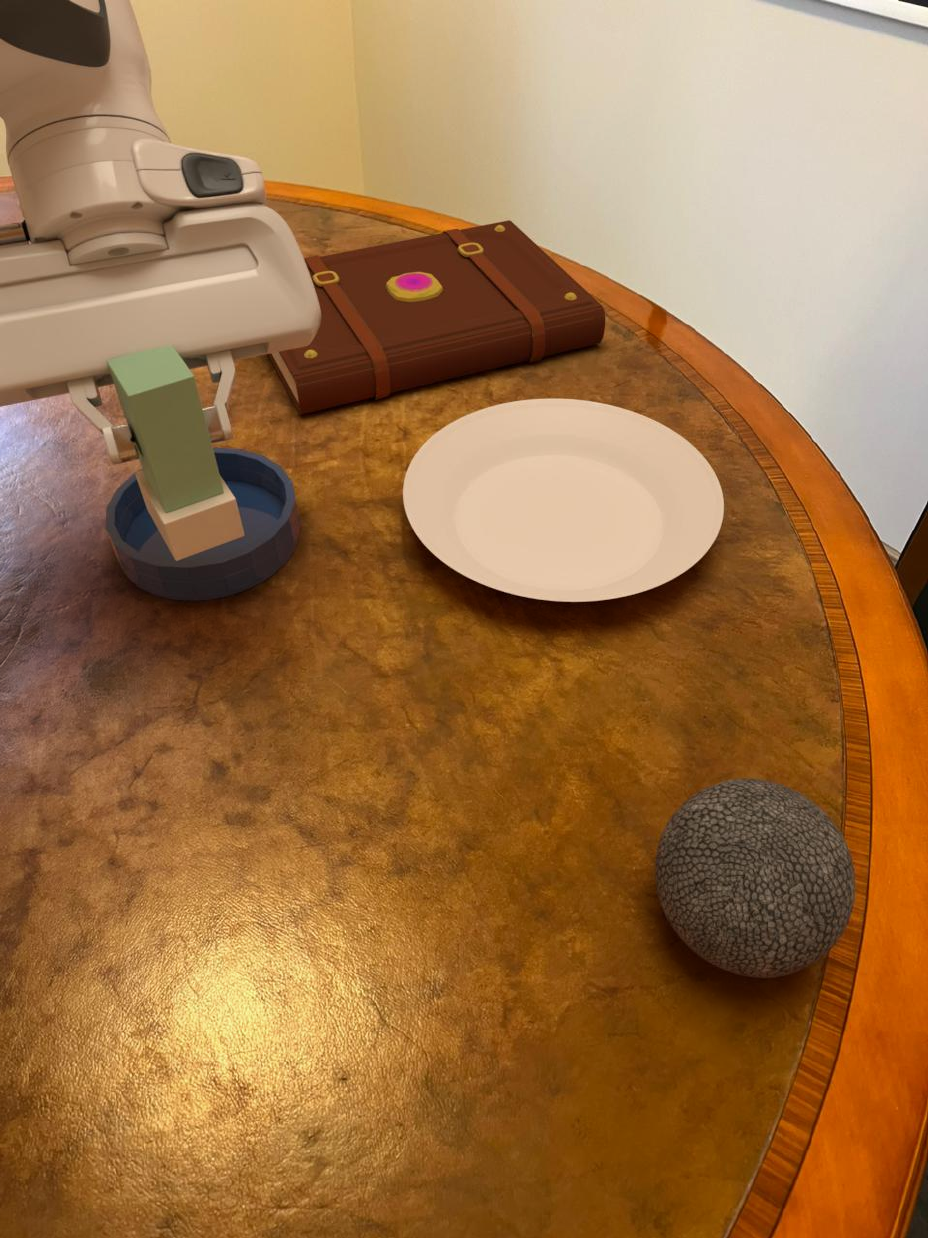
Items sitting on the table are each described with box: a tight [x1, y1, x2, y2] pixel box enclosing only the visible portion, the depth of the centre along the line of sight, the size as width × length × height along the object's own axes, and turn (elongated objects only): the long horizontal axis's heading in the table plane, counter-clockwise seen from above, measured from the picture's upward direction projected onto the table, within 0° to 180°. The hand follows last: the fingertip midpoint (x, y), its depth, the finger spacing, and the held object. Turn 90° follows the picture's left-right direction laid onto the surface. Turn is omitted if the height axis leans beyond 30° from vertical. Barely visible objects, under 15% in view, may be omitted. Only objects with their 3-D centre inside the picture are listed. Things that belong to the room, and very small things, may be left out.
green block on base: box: [107, 345, 244, 561], centre depth 54 cm, size 4×6×11 cm
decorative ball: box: [654, 777, 856, 979], centre depth 49 cm, size 10×10×10 cm
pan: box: [104, 447, 301, 602], centre depth 73 cm, size 14×14×4 cm
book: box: [267, 219, 606, 415], centre depth 95 cm, size 23×32×5 cm
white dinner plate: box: [402, 398, 725, 603], centre depth 74 cm, size 25×25×4 cm
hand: (174, 450), depth 53 cm, fingers closed on green block on base, 4 cm apart
